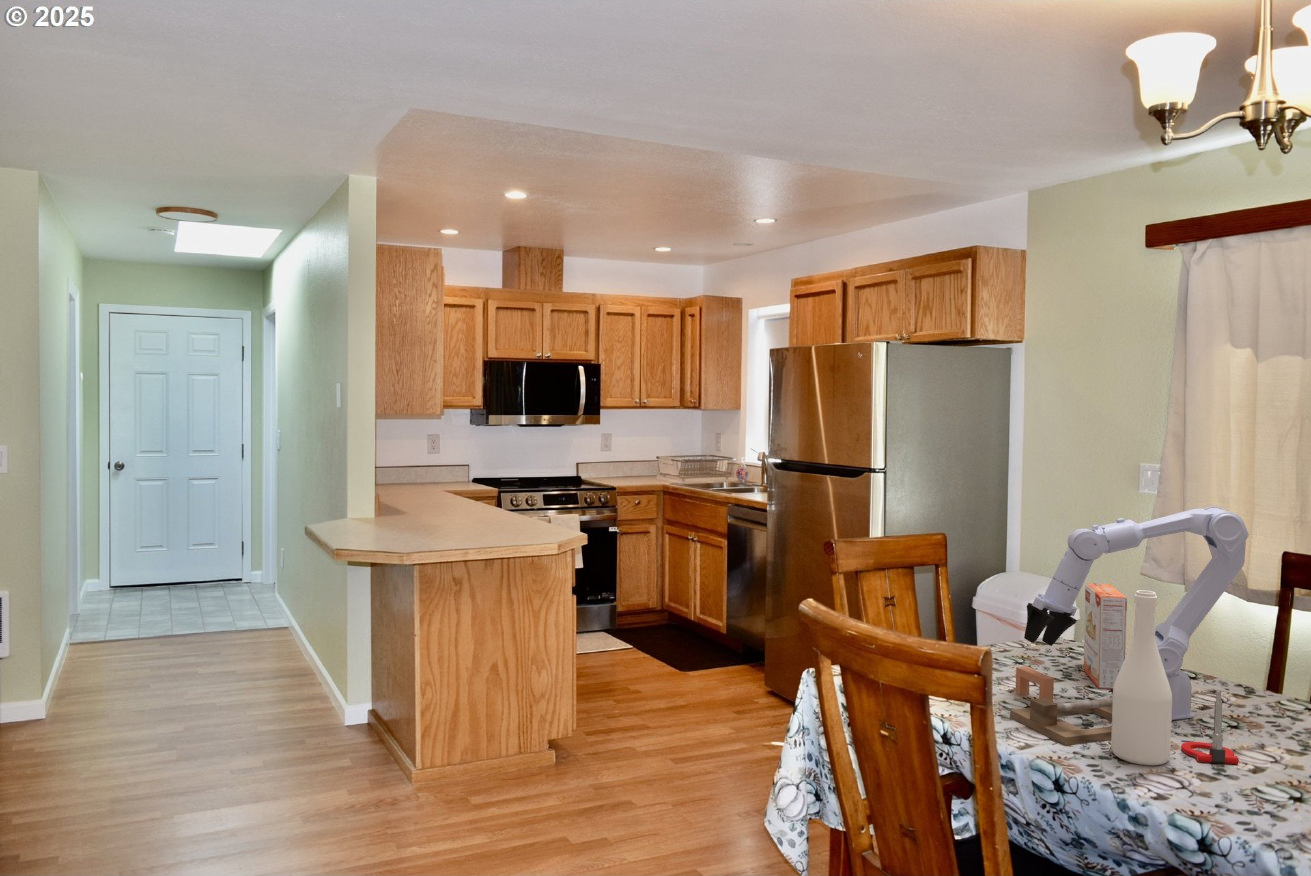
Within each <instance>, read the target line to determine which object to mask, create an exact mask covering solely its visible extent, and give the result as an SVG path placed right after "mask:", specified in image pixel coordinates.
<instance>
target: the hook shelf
mask: <svg viewBox="0 0 1311 876" xmlns="http://www.w3.org/2000/svg"><path fill="white" fill-rule="evenodd" d="M1029 701H1030V704H1029V705H1030V706H1029V707H1025V708H1024V707H1023V708H1014V709H1010V710H1009V717H1010V718H1011V719H1013V720H1015V721H1017V722H1018V723H1021V724H1023V725H1025V726H1027V727H1028V726H1029V728H1030V729H1032V728H1033V729H1032V730H1035V731H1036V730H1037V731H1036V732H1038V731H1039V733H1040V732H1041V733H1040V734H1043V736H1044V735H1045V736H1046V735H1047V736H1046V737H1048V738H1050V739H1052V740H1054V741H1056V742H1057V743H1060V744H1062V745H1064V746H1069V745H1070V746H1071V745H1079V744H1086V743H1096V742H1103V741H1111V736H1112V725H1111V726H1103V727H1102V726H1101V727H1095V728H1094V727H1093V728H1085V729H1082V728H1081V727H1078V726H1076V725H1075V724H1072V723H1070V722H1067V721H1066V720H1063V719H1061V718H1059V717H1069V716H1076V715H1077V716H1079V715H1085V714H1086V715H1087V714H1094V715H1097V716H1099V717H1101V718H1103V719H1106V720H1108V721H1110V722H1112V707H1113V697H1111V698H1109V697H1107V698H1101V699H1092V700H1083V701H1082V700H1080V701H1073V702H1063V703H1055V702H1054V701H1053V702H1051V701H1049V700H1047V699H1044V698H1039V697H1038V698H1031V699H1030V700H1029Z"/></svg>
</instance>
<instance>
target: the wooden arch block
mask: <svg viewBox="0 0 1311 876" xmlns="http://www.w3.org/2000/svg"><path fill="white" fill-rule="evenodd" d="M1054 679H1055V678H1054V677H1053V676H1049V675H1046V674H1044V673H1042V672H1040V671H1038V670H1036V669H1033V668H1030V667H1028V666H1026V665H1025V666H1015V694H1016V695H1018V696H1028V695H1030V682H1032V683H1034V684H1036V685H1038V686H1039V687H1038V691H1039V692H1038V693H1039V694H1038V699H1039V698H1044V699H1047V700H1049V701H1051V702H1053V703H1054V691H1055V690H1054V689H1055V685H1054V684H1055V680H1054ZM1015 694H1014V695H1015Z"/></svg>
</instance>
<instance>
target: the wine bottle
mask: <svg viewBox="0 0 1311 876" xmlns="http://www.w3.org/2000/svg"><path fill="white" fill-rule="evenodd" d="M1133 597H1134V598H1133V599H1134V600H1133V602H1134V604H1135V610H1134V626H1133V628H1134V629H1133V635H1132V636H1133V637H1132V640H1131V643H1130V646H1129V648H1128V650H1127V653H1126V654H1125V660H1124V662H1123V665H1122V667H1121V669H1120V671H1119V674H1118V676H1117V678H1116V681H1115V684H1114V687H1113V689H1112V698H1113V707H1112V721H1111V726H1112V736H1111V740H1110V741H1111V742H1110V747H1111V751H1112V753H1113V754H1114V755H1115V757H1118V758H1119V759H1121V760H1123V761H1125V762H1128V763H1133V764H1137V765H1142V766H1159V765H1163V764H1166V763H1167V762H1168V761H1169V760H1170V757H1171V743H1172V742H1171V741H1172V740H1171V739H1172V720H1171V718H1172V693H1171V689H1170V685H1169V682H1168V679H1167V676H1166V673H1165V670H1164V667H1163V664H1162V661H1161V657H1160V654H1159V651H1158V648H1157V644H1156V639H1155V627H1156V606H1157V605H1158V596H1157V592H1155V591H1152V590H1148V589H1147V590H1146V589H1145V590H1143V589H1138V590H1136V591H1135V593H1134V595H1133Z"/></svg>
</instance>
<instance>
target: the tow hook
mask: <svg viewBox="0 0 1311 876" xmlns="http://www.w3.org/2000/svg"><path fill="white" fill-rule="evenodd" d="M1215 693H1216V694H1215V696H1216V697H1215V701H1214V713H1213V715H1214V716H1213V717H1214V718H1213V719H1214V721H1213V733H1212V743H1209V742H1202V741H1187V742H1184V743H1181V745H1180V750H1181V751H1182V752H1183V753H1184V754H1186V755H1188V756H1192V757H1194V758H1195V759H1196V762H1197V763H1198V762H1200V763H1210V764H1220V765H1221V764H1222V765H1223V764H1231V765H1239V762H1240V761H1239V757H1238V756H1237V755H1235V752H1234V751H1233V750H1231V749H1230V748H1227V747H1225V746H1224V745H1223V739H1224V738H1223V737H1224V736H1223V733H1222V732H1223V731H1222V729H1223V727H1222V726H1223V721H1222V720H1223V702H1222V690H1219V689H1216V691H1215ZM1195 749H1206V750H1209V752H1208V753H1207V752H1201V751H1198V750H1195Z"/></svg>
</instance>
